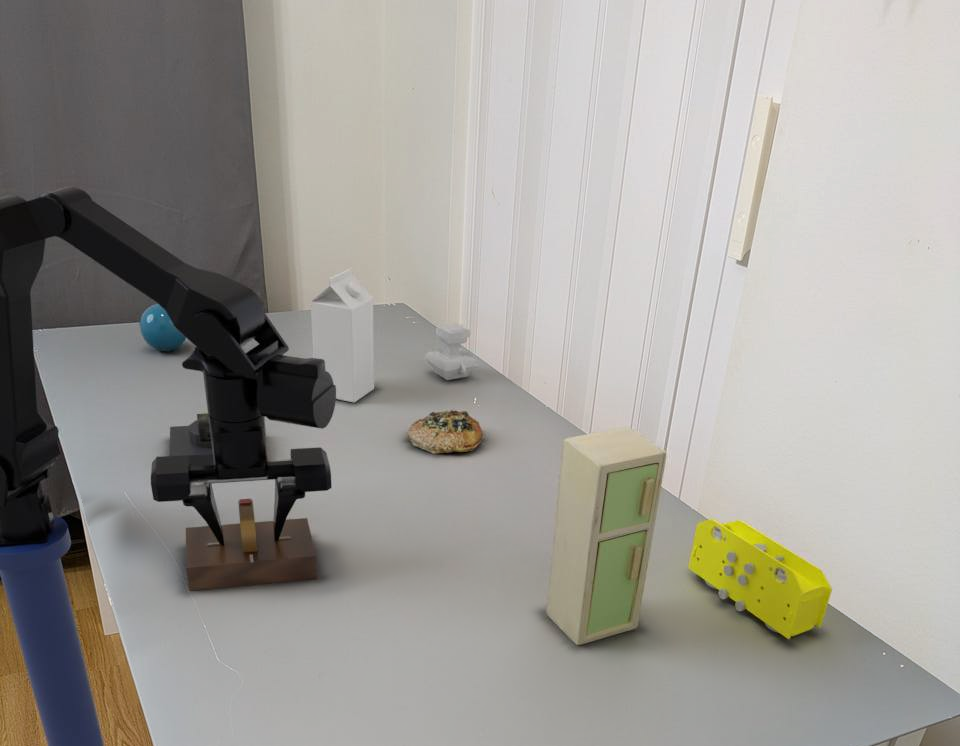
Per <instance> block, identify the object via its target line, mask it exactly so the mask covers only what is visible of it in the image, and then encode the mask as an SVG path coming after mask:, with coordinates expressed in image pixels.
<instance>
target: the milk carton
mask: <svg viewBox="0 0 960 746" xmlns="http://www.w3.org/2000/svg"><path fill="white" fill-rule="evenodd" d="M310 320H311V338H312V339H311V340H312V358H317V359H323V360H324V361H325V371H327V372H329V373H330V375H331V377H332V379H333V384H334V385H335V386H336V400H340V401H343V402H344V401H345V402H347V403H348V402H349V403H356V402H357V401H359V400H360V399H362V398H363V397H365V396H366V395H368V394H370V393H371V392H372V391H373V390H374V389H375V359H374V358H375V350H374V348H375V346H374V345H375V343H374V297H373V296H372V295H371V294H370V292H369V291H368V289H366V288H365V287H364V286H363V284H362V283H361V282H360V281H359V280H358V278H357V277H356V276H354V268H353V267H350V268H348V269H347V270H344V271H342V272H340V273H338V274H336V275H333V276H331V277H329V278H328V286H327V287H326V288H325V289H324V290H322V291H321V292H320V293H319V294H318V295H317V296H316V297H315V298H313V299H312V300H311V301H310Z"/></svg>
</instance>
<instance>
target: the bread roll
mask: <svg viewBox="0 0 960 746" xmlns="http://www.w3.org/2000/svg"><path fill="white" fill-rule="evenodd" d="M407 436H408V440H409V441H410V443H411V444H412V446H413V447H416V448H420V449H421V450H424V451H427V452H429V453H431V454H444V453H447V454H449V453H452V452H456V453H457V452H458V453H465V452H466V453H467V452H473V451H474V450H475V449H476V448H477V447H478V446H479V445H480V444H481V443H482V441H483V439H484V434H483V430H482V427H481V425H480V422H479V420H476V419H475V418H473V417H472V416H470V414H469V412H468V411H467V410H462V411H458V410H456V409H451V410H450V411H447V410H445V411H438V412H434V411H432V412H430V413H429V414H428V415H427V416H425V417H424V418H421V419H420V418H419V419H417V420H416V421H414V422H413V423H412V424H411V425H410V427H409V428H408V431H407Z"/></svg>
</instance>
